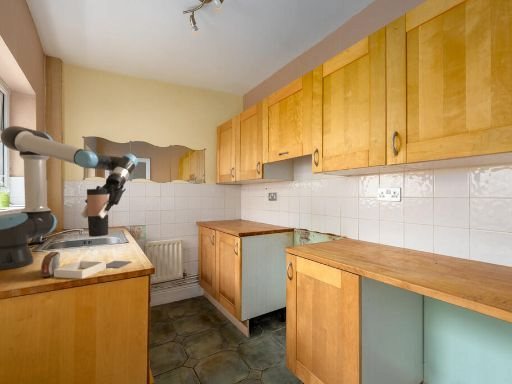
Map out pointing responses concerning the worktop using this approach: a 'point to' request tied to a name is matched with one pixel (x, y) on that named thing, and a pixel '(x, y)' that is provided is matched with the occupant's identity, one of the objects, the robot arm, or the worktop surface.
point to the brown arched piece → (50, 264)
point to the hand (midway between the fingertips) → (91, 216)
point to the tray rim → (72, 271)
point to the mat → (117, 264)
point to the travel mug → (96, 212)
